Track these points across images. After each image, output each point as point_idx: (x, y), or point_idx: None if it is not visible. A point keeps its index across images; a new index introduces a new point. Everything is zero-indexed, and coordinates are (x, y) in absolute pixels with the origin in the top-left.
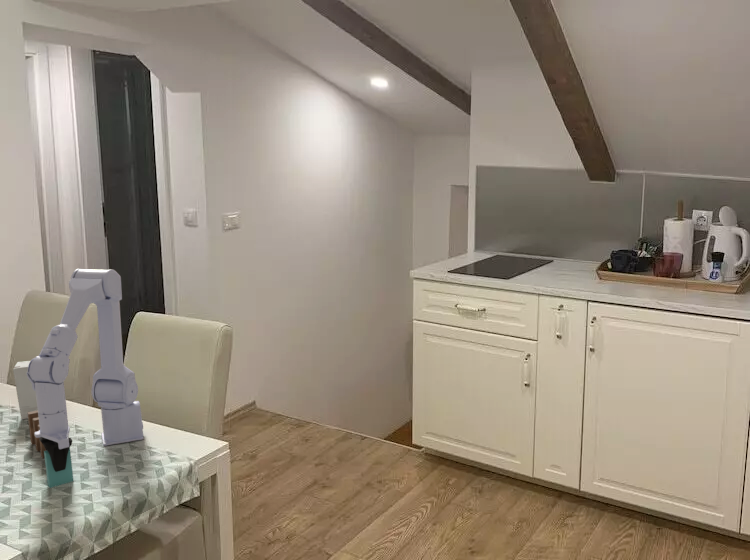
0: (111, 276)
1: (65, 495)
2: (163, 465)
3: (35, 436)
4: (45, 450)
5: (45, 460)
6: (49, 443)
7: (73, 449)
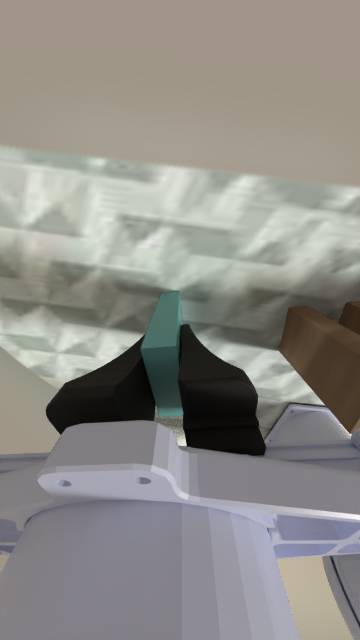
0: None
1: (104, 316)
2: None
3: (86, 430)
4: (336, 324)
5: (168, 324)
6: (84, 419)
7: None
